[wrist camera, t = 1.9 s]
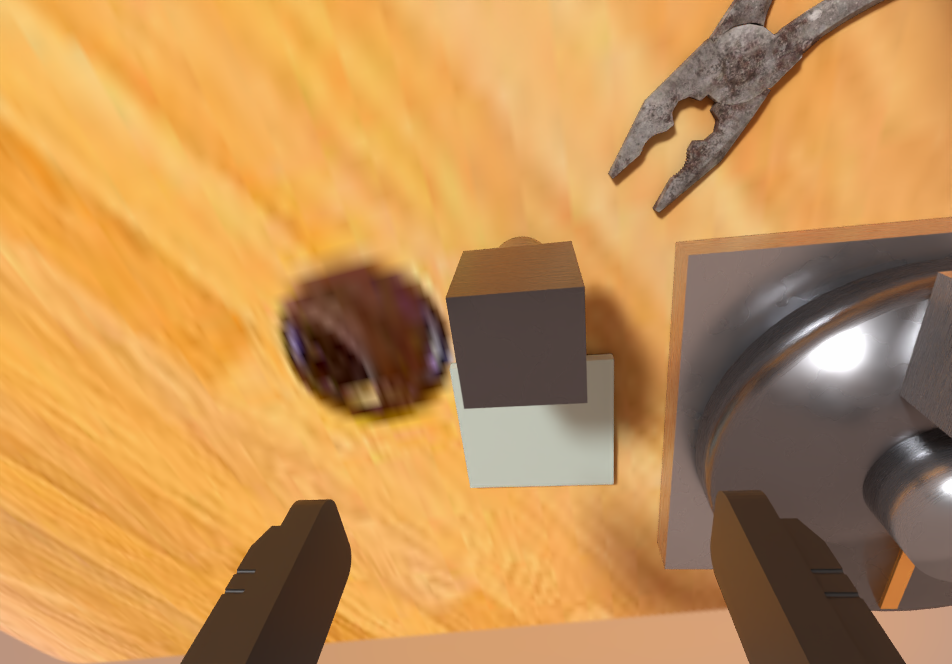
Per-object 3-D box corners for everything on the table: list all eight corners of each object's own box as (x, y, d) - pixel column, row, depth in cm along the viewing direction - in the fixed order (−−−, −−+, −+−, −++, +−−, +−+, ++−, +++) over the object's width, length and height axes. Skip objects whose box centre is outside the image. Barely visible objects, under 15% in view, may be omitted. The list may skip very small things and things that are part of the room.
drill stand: (676, 242, 23) (688, 255, 21) (1195, 195, 20) (1259, 205, 19) (657, 542, 33) (665, 569, 31) (1011, 540, 30) (1042, 568, 28)
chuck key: (472, 226, 24) (445, 297, 16) (564, 217, 23) (584, 286, 15) (483, 309, 26) (464, 408, 18) (568, 302, 25) (587, 403, 17)
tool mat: (451, 363, 28) (449, 368, 27) (612, 353, 26) (614, 359, 26) (471, 481, 32) (470, 487, 31) (612, 477, 30) (613, 484, 30)
